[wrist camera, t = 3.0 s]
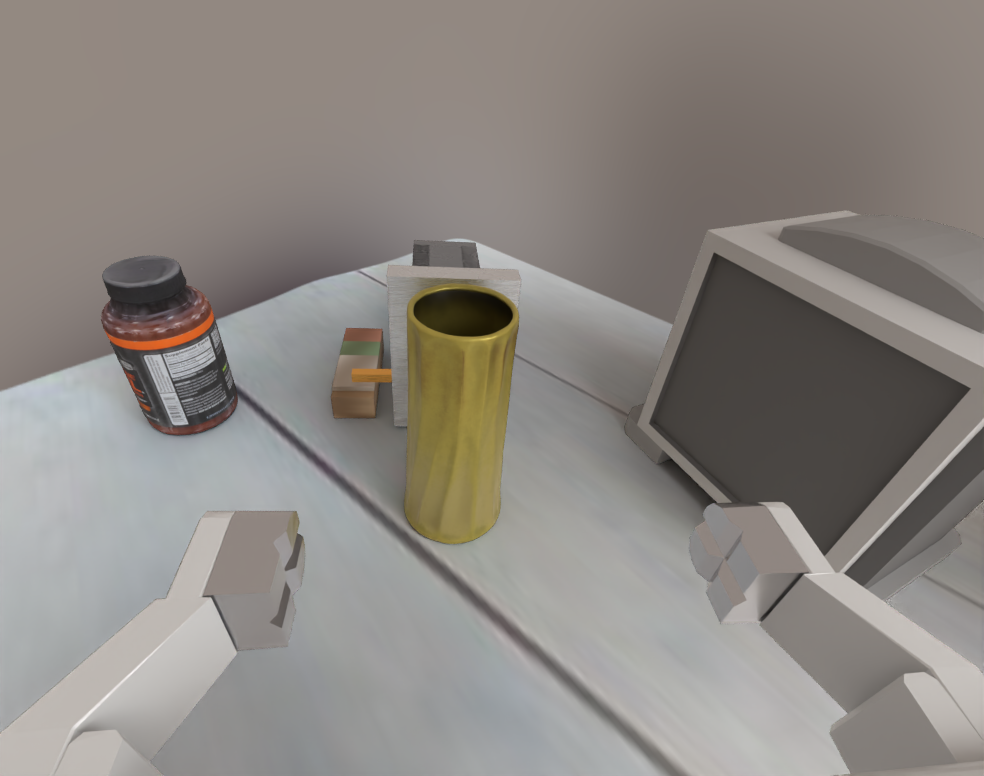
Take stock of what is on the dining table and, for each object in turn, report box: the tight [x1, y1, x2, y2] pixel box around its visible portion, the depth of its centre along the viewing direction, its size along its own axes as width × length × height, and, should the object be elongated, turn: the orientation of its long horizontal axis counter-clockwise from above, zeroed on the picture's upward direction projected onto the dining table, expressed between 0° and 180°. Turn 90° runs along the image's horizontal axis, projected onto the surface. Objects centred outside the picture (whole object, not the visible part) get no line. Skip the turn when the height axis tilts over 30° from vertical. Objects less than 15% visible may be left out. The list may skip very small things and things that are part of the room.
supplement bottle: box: [101, 256, 238, 435], centre depth 33 cm, size 6×6×11 cm
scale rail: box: [331, 328, 384, 418], centre depth 40 cm, size 3×9×2 cm, turn 5°
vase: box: [404, 283, 519, 544], centre depth 28 cm, size 6×6×14 cm
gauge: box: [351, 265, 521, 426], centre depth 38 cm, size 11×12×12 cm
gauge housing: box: [412, 240, 480, 268], centre depth 47 cm, size 6×10×6 cm, turn 6°
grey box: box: [624, 211, 984, 602], centre depth 30 cm, size 18×13×18 cm
